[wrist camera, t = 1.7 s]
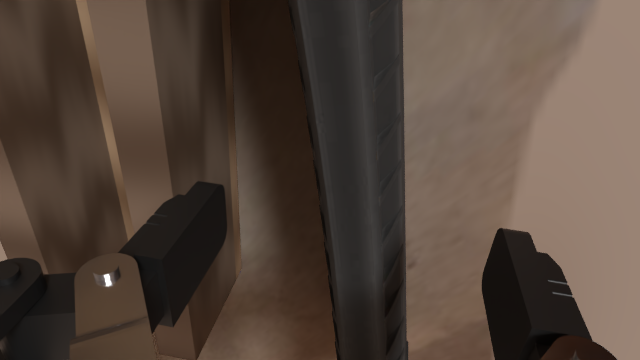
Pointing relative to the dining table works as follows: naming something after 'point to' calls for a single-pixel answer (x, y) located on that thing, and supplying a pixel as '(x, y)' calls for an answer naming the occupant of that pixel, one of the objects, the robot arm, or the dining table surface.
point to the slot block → (116, 134)
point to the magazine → (358, 165)
